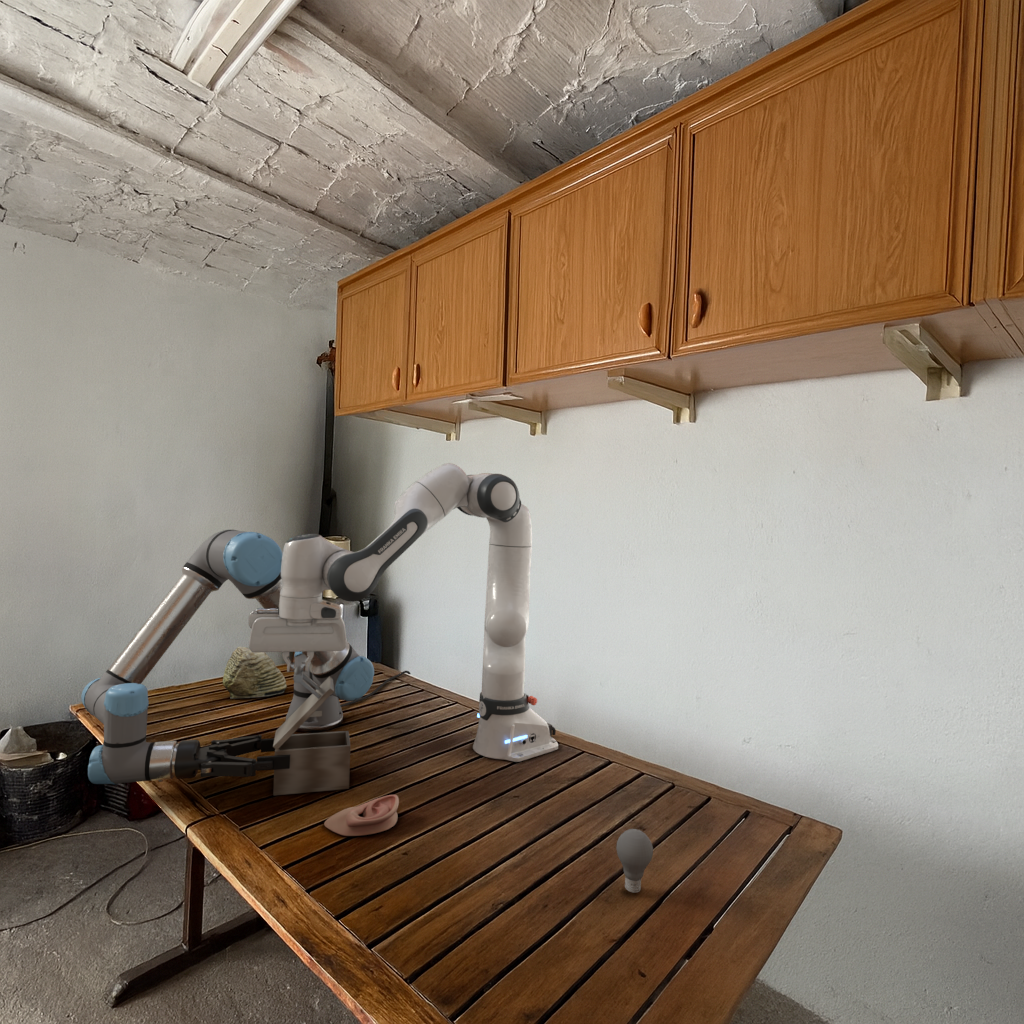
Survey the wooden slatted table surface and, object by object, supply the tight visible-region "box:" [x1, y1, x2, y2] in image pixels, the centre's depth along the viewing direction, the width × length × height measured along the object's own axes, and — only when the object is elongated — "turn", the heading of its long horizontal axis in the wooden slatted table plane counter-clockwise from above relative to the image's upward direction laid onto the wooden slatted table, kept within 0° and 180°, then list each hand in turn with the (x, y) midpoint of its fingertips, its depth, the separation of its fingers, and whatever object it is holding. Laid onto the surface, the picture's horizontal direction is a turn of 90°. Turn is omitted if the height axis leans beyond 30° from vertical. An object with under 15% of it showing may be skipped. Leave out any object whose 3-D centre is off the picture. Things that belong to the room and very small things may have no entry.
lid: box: [273, 666, 334, 750], centre depth 138 cm, size 16×9×8 cm
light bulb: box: [615, 828, 654, 894], centre depth 106 cm, size 6×6×10 cm
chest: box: [272, 730, 351, 796], centre depth 140 cm, size 16×9×9 cm, turn 107°
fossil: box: [222, 646, 288, 699], centre depth 198 cm, size 9×18×15 cm, turn 132°
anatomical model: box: [323, 794, 400, 837], centre depth 124 cm, size 13×4×12 cm
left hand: (290, 752), depth 139 cm, fingers closed on chest, 9 cm apart
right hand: (297, 671), depth 138 cm, fingers closed
